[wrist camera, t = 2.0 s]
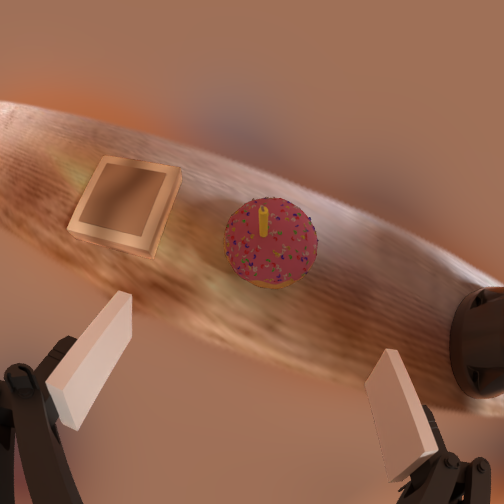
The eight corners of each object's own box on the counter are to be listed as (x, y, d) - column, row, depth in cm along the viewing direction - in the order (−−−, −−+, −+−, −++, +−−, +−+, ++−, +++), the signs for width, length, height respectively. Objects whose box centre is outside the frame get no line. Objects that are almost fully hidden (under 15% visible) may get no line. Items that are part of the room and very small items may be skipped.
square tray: (182, 180, 34) (180, 166, 31) (153, 259, 30) (147, 250, 27) (109, 167, 33) (103, 153, 31) (75, 238, 30) (65, 228, 27)
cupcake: (244, 312, 29) (260, 277, 18) (209, 238, 31) (206, 168, 20) (318, 277, 31) (369, 227, 20) (281, 210, 33) (309, 138, 22)
